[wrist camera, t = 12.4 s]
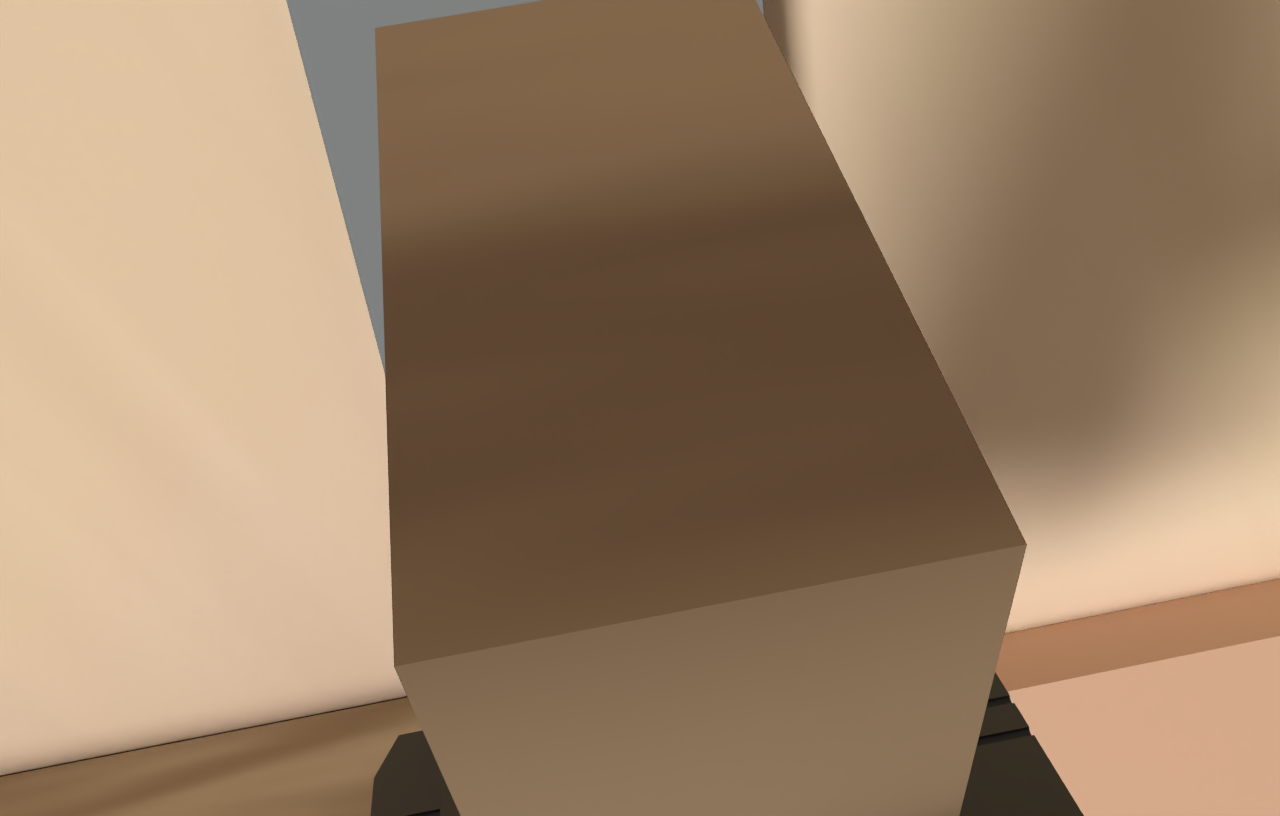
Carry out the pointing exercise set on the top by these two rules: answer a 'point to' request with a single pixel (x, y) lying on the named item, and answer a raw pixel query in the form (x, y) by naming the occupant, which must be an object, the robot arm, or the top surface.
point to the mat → (360, 109)
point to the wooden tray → (228, 772)
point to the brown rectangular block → (665, 435)
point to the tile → (1158, 704)
